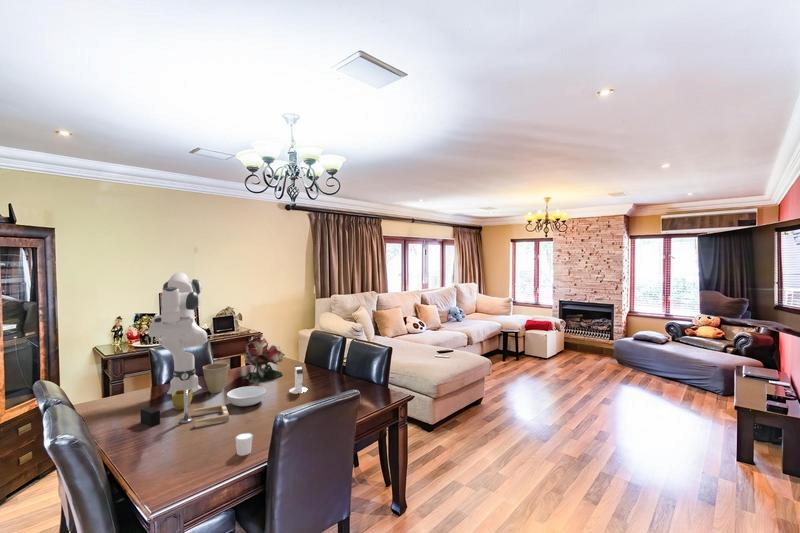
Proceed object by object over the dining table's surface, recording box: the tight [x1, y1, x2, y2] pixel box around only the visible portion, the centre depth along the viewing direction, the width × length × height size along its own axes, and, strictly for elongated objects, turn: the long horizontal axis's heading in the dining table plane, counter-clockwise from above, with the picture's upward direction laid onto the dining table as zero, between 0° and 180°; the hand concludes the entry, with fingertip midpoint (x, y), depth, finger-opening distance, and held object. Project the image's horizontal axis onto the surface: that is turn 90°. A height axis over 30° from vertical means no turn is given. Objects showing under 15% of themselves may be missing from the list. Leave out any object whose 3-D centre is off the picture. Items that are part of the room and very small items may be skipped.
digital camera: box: [139, 406, 161, 428], centre depth 194 cm, size 10×5×7 cm, turn 60°
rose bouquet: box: [242, 334, 286, 385], centre depth 272 cm, size 26×29×30 cm
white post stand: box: [289, 364, 309, 395], centre depth 242 cm, size 12×11×15 cm
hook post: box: [178, 390, 194, 425], centre depth 194 cm, size 10×6×16 cm, turn 31°
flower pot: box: [171, 389, 194, 411], centre depth 213 cm, size 9×9×9 cm
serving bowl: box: [226, 385, 267, 407], centre depth 221 cm, size 21×21×7 cm
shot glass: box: [235, 432, 254, 456], centre depth 165 cm, size 7×7×7 cm
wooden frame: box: [192, 403, 230, 428], centre depth 200 cm, size 18×16×3 cm
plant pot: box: [202, 362, 230, 394], centre depth 241 cm, size 15×15×16 cm
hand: (171, 343), depth 204 cm, fingers open, 8 cm apart
